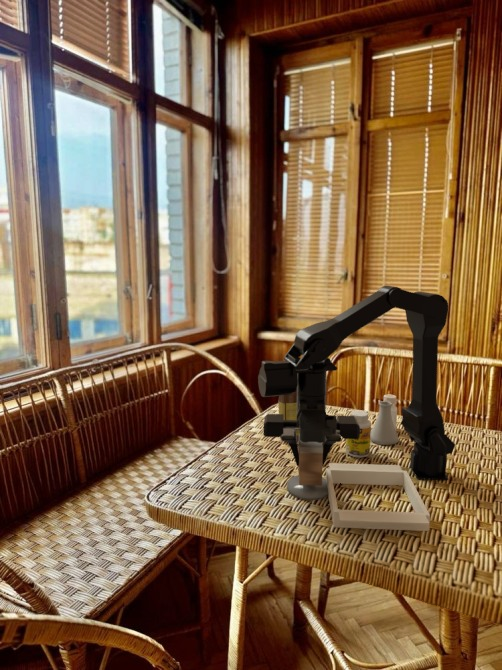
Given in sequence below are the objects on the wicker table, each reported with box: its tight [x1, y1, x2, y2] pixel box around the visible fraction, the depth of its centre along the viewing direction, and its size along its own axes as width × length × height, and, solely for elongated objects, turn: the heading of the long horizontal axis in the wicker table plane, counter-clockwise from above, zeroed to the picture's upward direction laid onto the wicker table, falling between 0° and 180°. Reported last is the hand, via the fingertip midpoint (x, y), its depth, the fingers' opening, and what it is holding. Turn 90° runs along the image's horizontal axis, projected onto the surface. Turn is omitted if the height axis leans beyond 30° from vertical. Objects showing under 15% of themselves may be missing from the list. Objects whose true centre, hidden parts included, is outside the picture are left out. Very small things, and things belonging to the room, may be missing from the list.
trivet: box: [286, 474, 328, 501], centre depth 98 cm, size 9×9×1 cm
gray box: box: [297, 434, 323, 486], centre depth 96 cm, size 4×6×8 cm
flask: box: [370, 400, 400, 446], centre depth 121 cm, size 7×7×10 cm
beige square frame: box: [325, 462, 431, 532], centre depth 92 cm, size 17×21×3 cm
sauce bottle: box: [278, 388, 300, 442], centre depth 121 cm, size 7×6×20 cm
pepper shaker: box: [383, 393, 398, 431], centre depth 128 cm, size 4×4×10 cm
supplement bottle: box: [345, 409, 372, 459], centre depth 113 cm, size 6×6×10 cm
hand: (309, 465), depth 97 cm, fingers closed on gray box, 4 cm apart
